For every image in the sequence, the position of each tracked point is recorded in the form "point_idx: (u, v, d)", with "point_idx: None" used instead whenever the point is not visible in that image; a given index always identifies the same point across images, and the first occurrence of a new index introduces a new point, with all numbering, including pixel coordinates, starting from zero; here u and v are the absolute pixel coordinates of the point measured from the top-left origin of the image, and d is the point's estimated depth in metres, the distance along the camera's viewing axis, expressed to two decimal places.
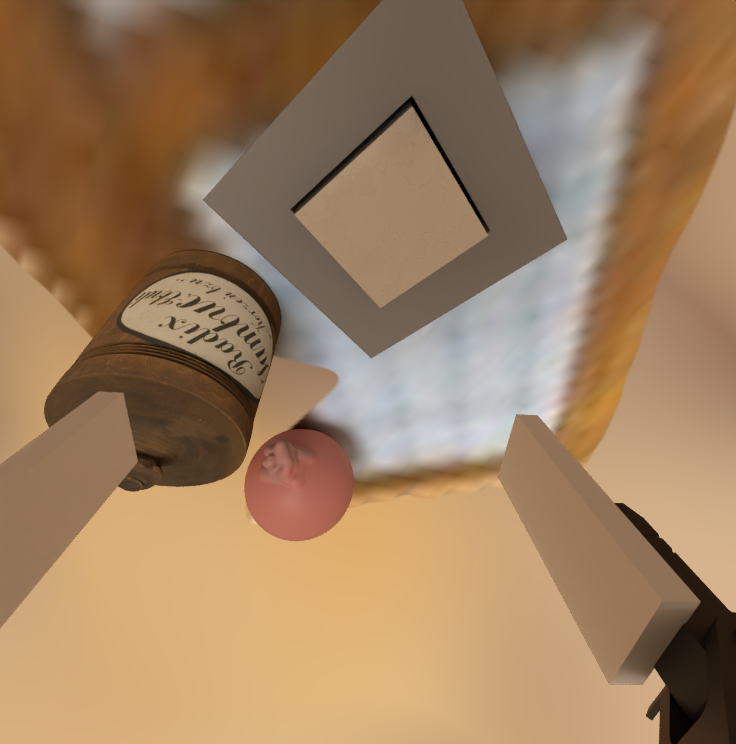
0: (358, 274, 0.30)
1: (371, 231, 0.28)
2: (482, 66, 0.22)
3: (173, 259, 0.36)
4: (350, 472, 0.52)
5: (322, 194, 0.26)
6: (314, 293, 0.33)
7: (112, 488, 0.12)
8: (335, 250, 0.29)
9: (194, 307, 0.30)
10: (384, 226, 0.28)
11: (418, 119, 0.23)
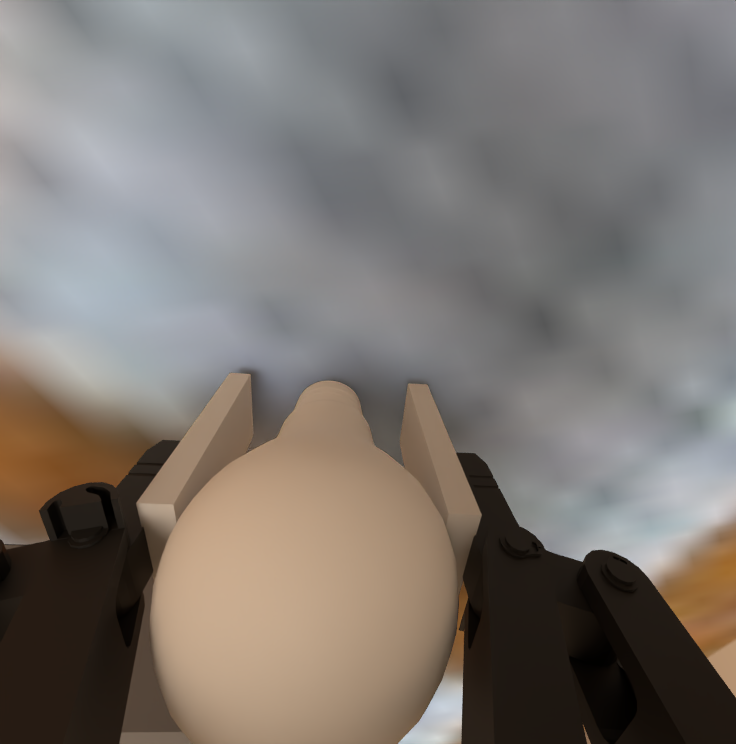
0: None
1: None
2: None
3: None
4: None
5: None
6: None
7: (242, 455, 0.14)
8: None
9: None
10: None
11: None
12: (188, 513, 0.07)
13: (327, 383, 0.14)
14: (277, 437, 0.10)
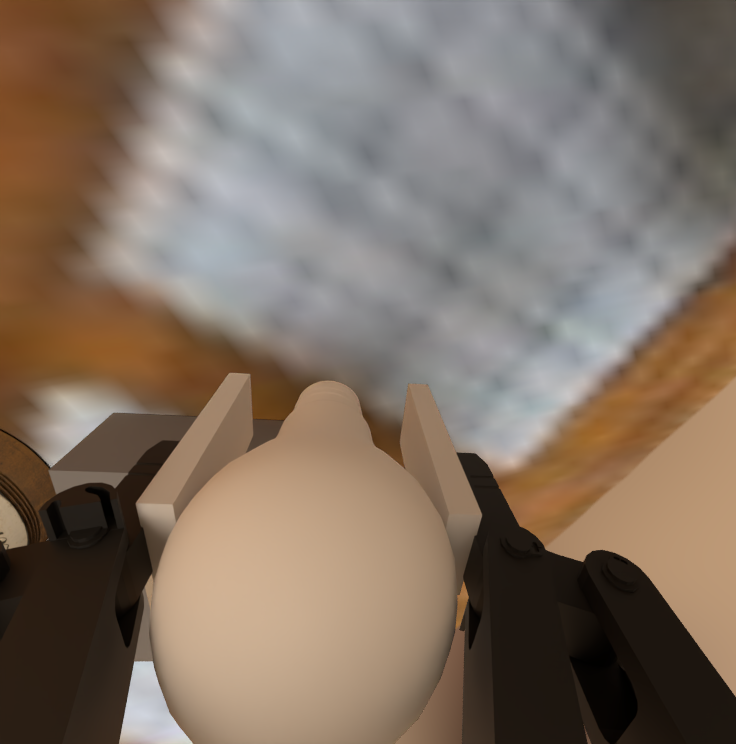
0: None
1: None
2: None
3: None
4: None
5: None
6: None
7: None
8: (151, 581, 0.26)
9: None
10: None
11: None
12: (188, 513, 0.07)
13: (327, 384, 0.14)
14: (277, 437, 0.10)
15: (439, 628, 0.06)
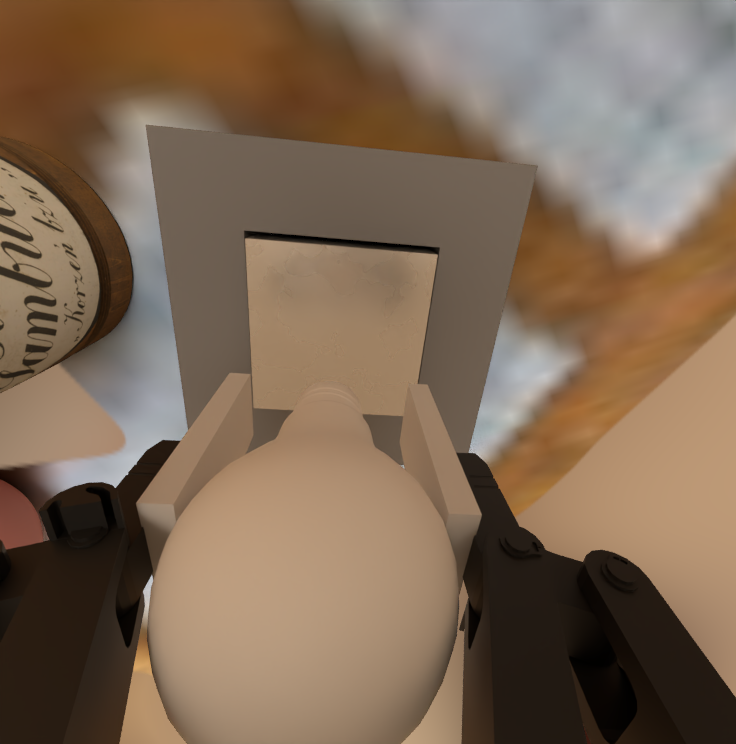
0: (261, 355, 0.22)
1: (311, 324, 0.22)
2: (503, 279, 0.22)
3: (28, 151, 0.23)
4: None
5: (294, 247, 0.20)
6: (189, 334, 0.23)
7: (242, 455, 0.14)
8: (257, 311, 0.21)
9: None
10: (328, 331, 0.22)
11: (434, 269, 0.21)
12: (187, 515, 0.07)
13: (327, 384, 0.14)
14: (276, 438, 0.10)
15: (441, 632, 0.06)
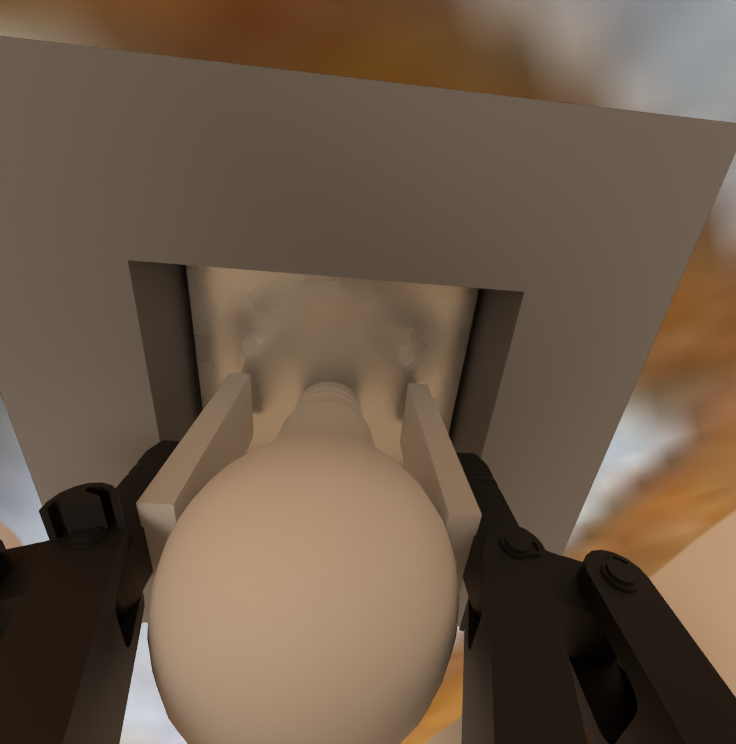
0: None
1: (291, 381, 0.15)
2: (637, 349, 0.12)
3: None
4: None
5: (262, 272, 0.13)
6: (47, 446, 0.12)
7: (242, 455, 0.14)
8: (210, 363, 0.14)
9: None
10: None
11: (473, 303, 0.14)
12: (187, 515, 0.07)
13: (327, 385, 0.14)
14: (277, 438, 0.10)
15: (441, 632, 0.06)
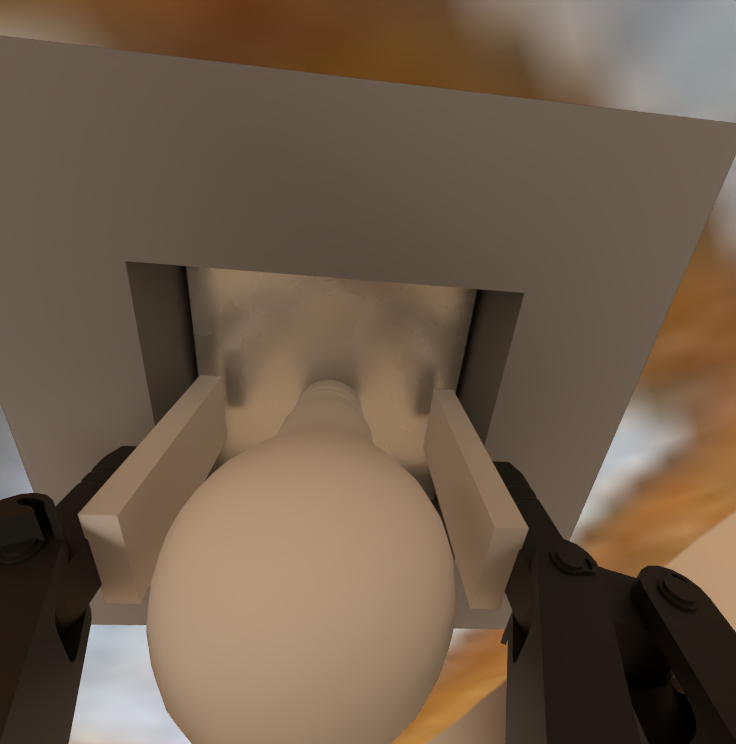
0: None
1: (291, 381, 0.15)
2: (637, 350, 0.12)
3: None
4: None
5: (261, 272, 0.13)
6: (44, 448, 0.12)
7: (212, 460, 0.13)
8: (210, 363, 0.14)
9: None
10: None
11: (472, 303, 0.14)
12: (186, 510, 0.07)
13: (327, 383, 0.14)
14: (276, 435, 0.10)
15: (437, 628, 0.06)
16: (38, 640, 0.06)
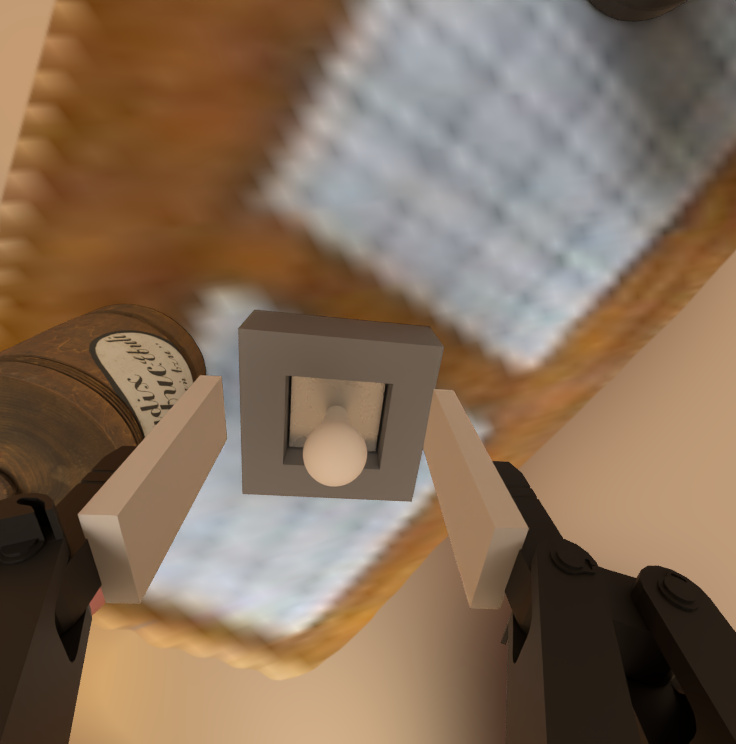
0: (295, 419, 0.43)
1: (322, 405, 0.42)
2: (429, 399, 0.39)
3: (157, 318, 0.39)
4: None
5: None
6: (249, 426, 0.39)
7: (213, 460, 0.13)
8: (295, 398, 0.42)
9: (159, 378, 0.34)
10: None
11: None
12: (312, 435, 0.34)
13: (336, 406, 0.41)
14: (324, 422, 0.37)
15: (360, 456, 0.33)
16: (38, 640, 0.06)
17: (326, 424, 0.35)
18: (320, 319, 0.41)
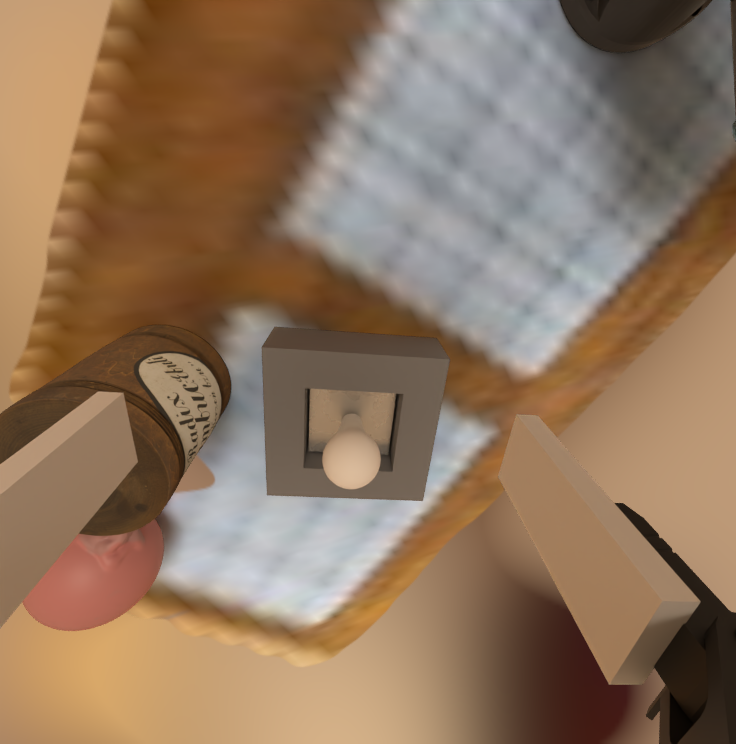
0: (314, 426, 0.46)
1: (338, 413, 0.46)
2: (437, 407, 0.42)
3: (187, 338, 0.43)
4: (157, 574, 0.51)
5: None
6: (272, 434, 0.43)
7: (112, 488, 0.12)
8: (313, 408, 0.45)
9: (192, 394, 0.37)
10: None
11: None
12: (330, 443, 0.38)
13: (351, 414, 0.44)
14: (341, 430, 0.41)
15: (374, 461, 0.37)
16: None
17: (343, 433, 0.38)
18: (334, 334, 0.44)
